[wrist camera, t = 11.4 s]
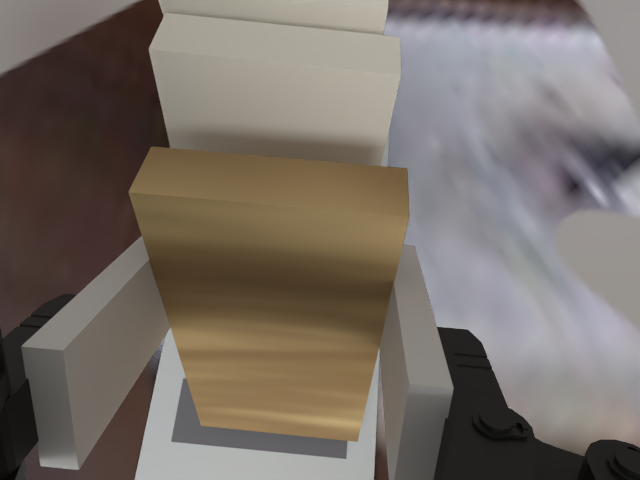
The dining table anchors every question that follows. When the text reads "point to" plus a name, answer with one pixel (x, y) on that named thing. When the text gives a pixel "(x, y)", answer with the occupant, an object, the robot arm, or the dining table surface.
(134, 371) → the robot arm
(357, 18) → the ivory tile
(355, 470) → the mat
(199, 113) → the ivory tile
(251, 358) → the ochre tile
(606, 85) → the dining table surface
